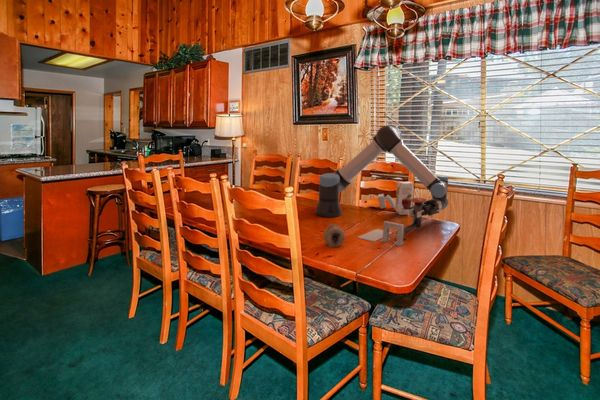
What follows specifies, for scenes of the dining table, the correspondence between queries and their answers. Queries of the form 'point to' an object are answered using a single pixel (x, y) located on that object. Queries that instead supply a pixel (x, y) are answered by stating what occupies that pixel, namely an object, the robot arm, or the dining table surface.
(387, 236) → the grey u-shaped bracket
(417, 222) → the hook
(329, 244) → the grey round lumpy ball
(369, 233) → the pad
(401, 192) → the juice carton
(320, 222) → the dining table surface
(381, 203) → the wall hook
